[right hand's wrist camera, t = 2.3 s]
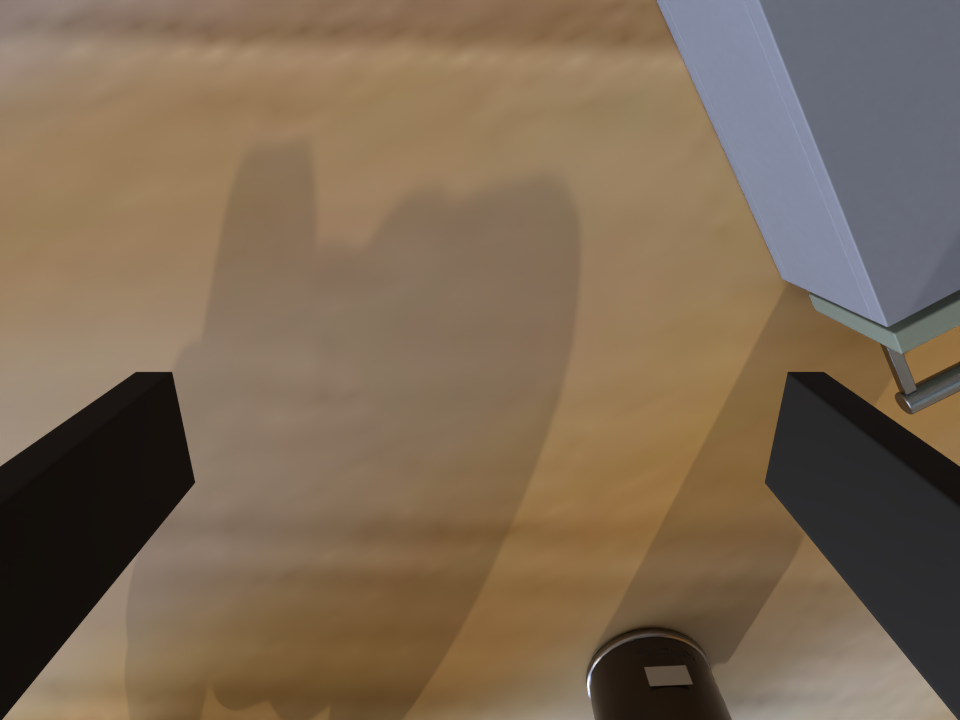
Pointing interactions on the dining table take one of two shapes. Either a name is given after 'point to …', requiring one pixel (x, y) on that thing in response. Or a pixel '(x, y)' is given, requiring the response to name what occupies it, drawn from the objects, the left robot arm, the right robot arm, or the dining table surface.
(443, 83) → the dining table surface
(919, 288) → the cabinet
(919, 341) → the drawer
